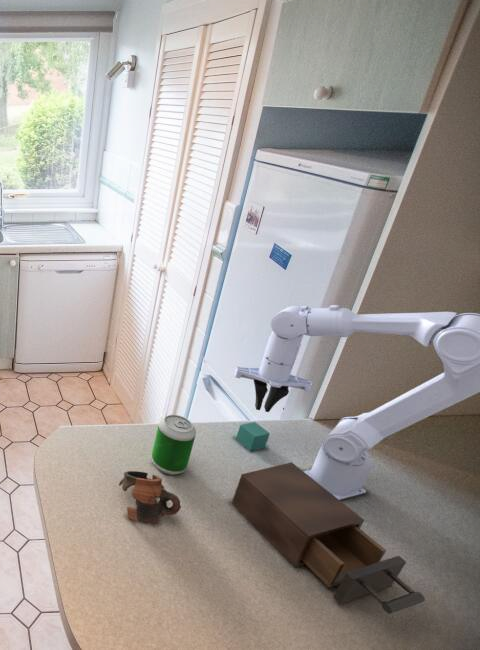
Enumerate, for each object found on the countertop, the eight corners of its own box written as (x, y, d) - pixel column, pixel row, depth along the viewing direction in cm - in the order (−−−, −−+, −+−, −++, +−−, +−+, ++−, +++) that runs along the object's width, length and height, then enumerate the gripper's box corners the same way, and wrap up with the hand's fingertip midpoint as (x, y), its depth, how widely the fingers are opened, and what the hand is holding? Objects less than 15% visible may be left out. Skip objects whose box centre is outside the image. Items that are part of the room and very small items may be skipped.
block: (250, 435, 112) (254, 421, 110) (264, 447, 108) (270, 433, 106) (235, 438, 111) (240, 424, 109) (249, 451, 107) (254, 436, 105)
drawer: (423, 614, 72) (440, 589, 70) (369, 634, 70) (385, 608, 67) (316, 521, 88) (327, 498, 86) (269, 534, 86) (279, 510, 83)
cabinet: (348, 550, 84) (364, 519, 80) (294, 567, 81) (309, 536, 77) (280, 490, 96) (291, 462, 93) (231, 503, 93) (241, 474, 90)
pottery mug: (111, 515, 91) (113, 473, 92) (127, 505, 99) (128, 466, 99) (175, 534, 84) (176, 488, 84) (186, 521, 91) (188, 479, 92)
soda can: (189, 479, 99) (201, 436, 94) (153, 474, 100) (163, 432, 95) (181, 455, 106) (192, 414, 101) (148, 451, 107) (157, 410, 102)
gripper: (243, 360, 99) (228, 410, 105) (323, 374, 94) (302, 426, 99) (240, 345, 105) (225, 394, 110) (314, 358, 100) (295, 408, 105)
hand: (261, 408), depth 105 cm, fingers closed
